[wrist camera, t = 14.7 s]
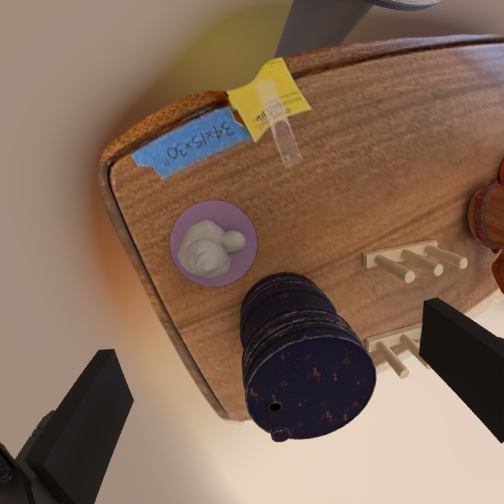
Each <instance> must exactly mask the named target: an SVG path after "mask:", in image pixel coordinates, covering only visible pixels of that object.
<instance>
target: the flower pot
mask: <svg viewBox="0 0 504 504" xmlns="http://www.w3.org/2000/svg"><path fill="white" fill-rule="evenodd" d="M500 184H501V185H502V186H503V187H504V160H503V162H502V164H501V168H500Z"/></svg>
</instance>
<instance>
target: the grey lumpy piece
mask: <svg viewBox="0 0 504 504" xmlns="http://www.w3.org/2000/svg"><path fill="white" fill-rule="evenodd" d="M244 245H245V238H244V236H243V235H242V234H241V233H240V232H238V231H234V230H231V231H228V232H224V231H223V230H222V229H221V228H220V227H219V226H217V225H216V224H215V223H214V222H212V221H210V220H204V221H201V222H198V223H196V224H194V225H192V226H191V227H190V228H189V229H188V231H187V232H186V234H185V238H184V240H183V242H182V244H181V247H180V249H179V252H178V259H179V261H180V263H181V265H182V266H183V267H184V268H185V269H186V270H187V271H189V272H191V273H194V274H197V275H201V276H205V277H209V278H215V277H218V276H221V275H224V274H226V273H227V272H228V271H229V268H230V262H231V258H232V252H234V251H237V250H240V249H242V248H243V247H244Z"/></svg>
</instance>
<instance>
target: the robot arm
mask: <svg viewBox="0 0 504 504" xmlns="http://www.w3.org/2000/svg"><path fill="white" fill-rule="evenodd" d="M419 356H420V357H421V358H422V359H423V360H424V361H425V362H426V363H427V364H428V365H429V366H430V367H431V368H432V369H433V370H434V371H435V372H436V373H437V374H438V375H439V376H440V377H441V378H442V379H443V380H444V381H445V383H447V385H448V386H449V387H450V388H451V389H452V390H453V391H454V392H455V393H456V394H457V395H458V396H459V397H460V398H461V400H462V401H463V402H464V403H465V404H466V405H467V406H468V407H469V408H470V409H471V410H472V412H473V413H474V414H475V415H476V416H477V417H478V418H479V419H480V420H481V421H482V423H484V425H485V426H486V427H487V428H488V429H489V430H490V431H491V433H492V434H493V435H494V436H495V437H496V438H497V439H498V440H499V441H500V443H503V442H504V339H503V338H500V337H496V336H495V335H494V334H492V333H491V332H489V331H488V330H486V329H485V328H483V327H482V326H480V325H479V324H477V323H476V322H474V321H473V320H471V319H470V318H468V317H467V316H465V315H464V314H462V313H461V312H459V311H458V310H456V309H455V308H453V307H452V306H450V305H448V304H447V303H445V302H444V301H442V300H441V299H439V298H438V297H437V298H434V299H430V300H426V301H424V307H423V319H422V330H421V340H420V348H419ZM133 402H134V399H133V397H132V395H131V392H130V390H129V388H128V385H127V382H126V380H125V377H124V375H123V372H122V370H121V367H120V364H119V361H118V358H117V356H116V353H115V350H114V349H107V350H98V352H97V353H96V354H95V356H94V357H93V358H92V360H91V361H90V362H89V364H88V365H87V367H86V368H85V369H84V371H83V372H82V373H81V375H80V376H79V378H78V379H77V381H76V382H75V383H74V385H73V386H72V388H71V389H70V391H69V392H68V393H67V395H66V396H65V398H64V399H63V401H62V402H61V404H60V405H59V406H58V408H57V409H56V411H54V410H52V411H51V412H50V413H48V414H47V415H46V416H45V417H43V418H42V420H41V421H40V423H39V424H38V426H37V429H35V430H34V431H33V433H32V436H30V437H29V439H28V440H27V442H26V443H25V445H24V446H23V448H22V450H21V451H20V452H19V454H18V456H17V457H16V459H15V460H14V458H13V457H12V456H11V455H10V453H9V452H8V450H7V449H6V448H5V446H4V445H3V444H1V443H0V504H94V503H95V500H96V497H97V495H98V492H99V489H100V486H101V484H102V481H103V478H104V475H105V473H106V470H107V467H108V465H109V462H110V459H111V457H112V454H113V452H114V449H115V447H116V444H117V441H118V439H119V436H120V434H121V431H122V429H123V426H124V423H125V421H126V419H127V416H128V414H129V411H130V409H131V407H132V404H133Z"/></svg>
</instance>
